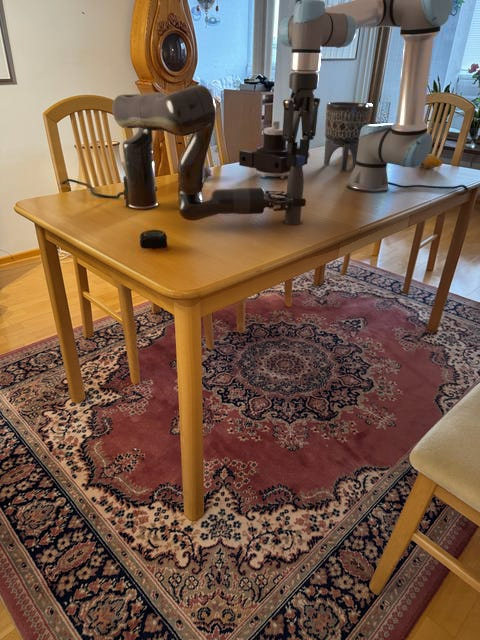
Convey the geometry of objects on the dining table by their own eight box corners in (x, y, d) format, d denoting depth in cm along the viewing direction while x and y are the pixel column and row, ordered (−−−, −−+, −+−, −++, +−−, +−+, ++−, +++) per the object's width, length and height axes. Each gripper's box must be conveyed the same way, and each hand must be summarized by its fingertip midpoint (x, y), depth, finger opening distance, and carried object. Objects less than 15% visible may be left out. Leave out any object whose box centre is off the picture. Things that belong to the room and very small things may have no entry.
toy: (416, 161, 206) (411, 154, 219) (419, 175, 209) (413, 167, 222) (442, 153, 203) (435, 147, 216) (444, 167, 206) (437, 160, 219)
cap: (288, 165, 129) (288, 157, 127) (290, 162, 132) (290, 154, 131) (304, 166, 128) (305, 158, 127) (305, 163, 132) (306, 155, 131)
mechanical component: (240, 120, 182) (283, 115, 202) (239, 174, 192) (280, 164, 212) (283, 126, 170) (325, 120, 190) (280, 183, 180) (320, 171, 200)
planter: (313, 167, 208) (319, 103, 195) (331, 160, 222) (338, 101, 209) (353, 173, 199) (362, 107, 185) (369, 166, 213) (379, 104, 199)
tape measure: (140, 252, 115) (139, 238, 113) (141, 242, 120) (140, 229, 119) (167, 251, 116) (166, 237, 114) (167, 241, 121) (166, 228, 120)
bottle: (281, 222, 138) (286, 159, 129) (289, 218, 142) (293, 157, 132) (295, 225, 136) (301, 161, 127) (302, 221, 139) (308, 159, 130)
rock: (203, 174, 190) (203, 158, 187) (216, 178, 185) (216, 162, 181) (177, 179, 183) (176, 162, 179) (189, 183, 177) (189, 166, 174)
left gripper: (251, 194, 125) (310, 193, 128) (243, 182, 138) (297, 181, 140) (250, 221, 129) (308, 219, 131) (242, 206, 141) (295, 205, 144)
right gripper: (312, 71, 126) (305, 158, 138) (271, 72, 115) (266, 166, 127) (335, 72, 122) (325, 162, 133) (294, 73, 111) (287, 171, 122)
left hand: (302, 199), depth 136 cm, fingers closed on bottle, 4 cm apart
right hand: (297, 164), depth 130 cm, fingers open, 5 cm apart
